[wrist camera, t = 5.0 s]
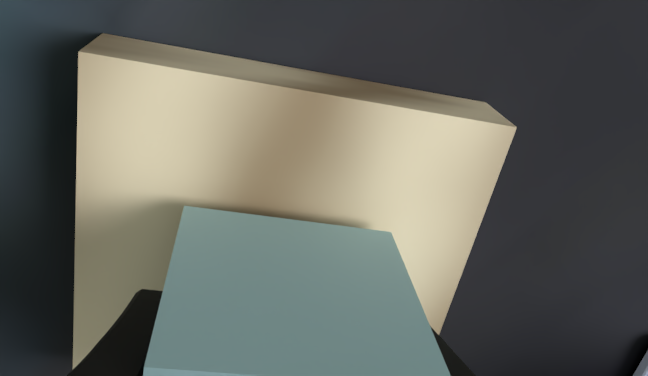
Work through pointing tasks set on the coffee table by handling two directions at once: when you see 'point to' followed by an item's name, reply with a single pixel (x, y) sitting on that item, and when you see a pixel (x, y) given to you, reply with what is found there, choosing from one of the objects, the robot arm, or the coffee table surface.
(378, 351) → the teal cube
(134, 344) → the robot arm
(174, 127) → the maple base
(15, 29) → the coffee table surface
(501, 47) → the coffee table surface
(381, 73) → the coffee table surface
